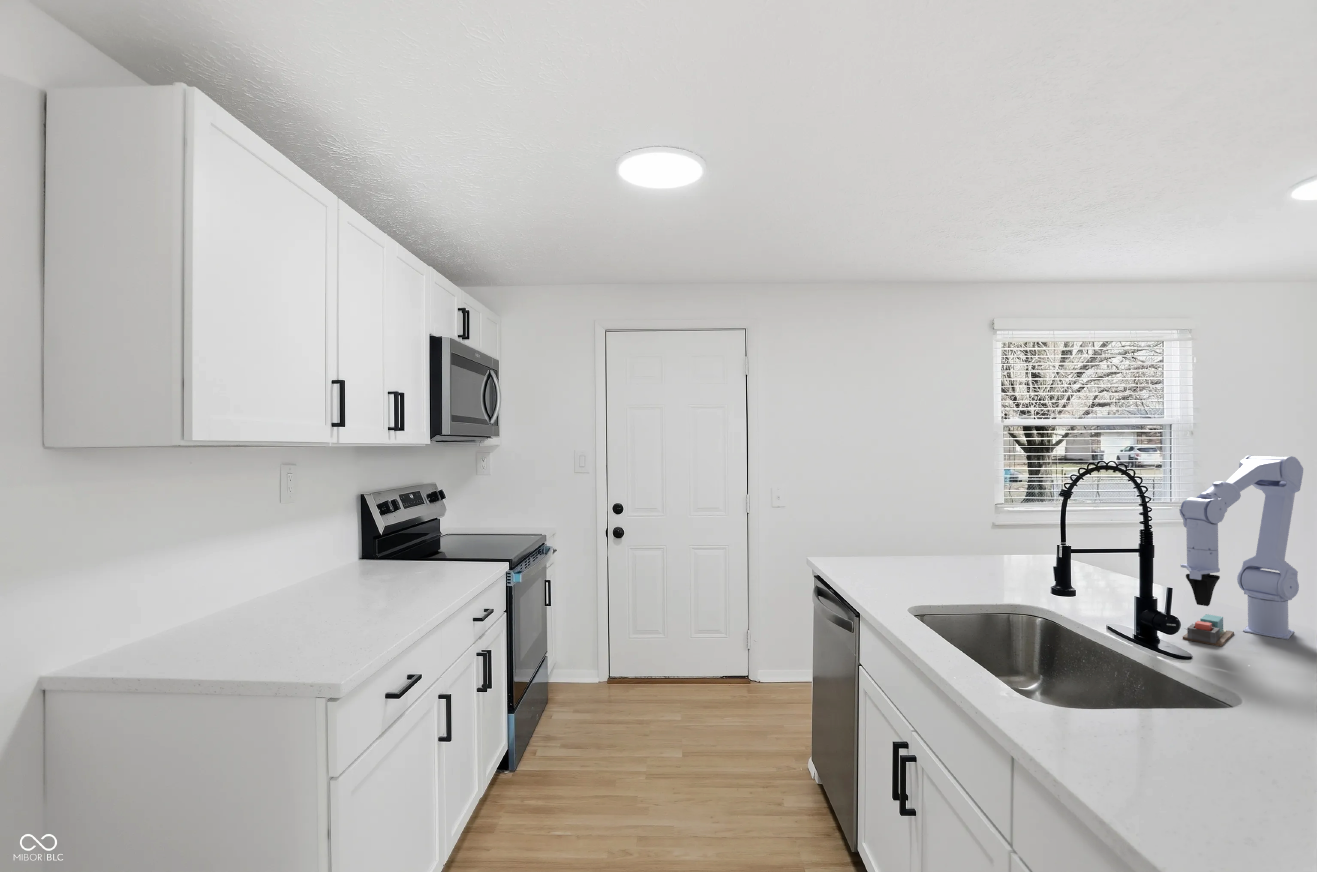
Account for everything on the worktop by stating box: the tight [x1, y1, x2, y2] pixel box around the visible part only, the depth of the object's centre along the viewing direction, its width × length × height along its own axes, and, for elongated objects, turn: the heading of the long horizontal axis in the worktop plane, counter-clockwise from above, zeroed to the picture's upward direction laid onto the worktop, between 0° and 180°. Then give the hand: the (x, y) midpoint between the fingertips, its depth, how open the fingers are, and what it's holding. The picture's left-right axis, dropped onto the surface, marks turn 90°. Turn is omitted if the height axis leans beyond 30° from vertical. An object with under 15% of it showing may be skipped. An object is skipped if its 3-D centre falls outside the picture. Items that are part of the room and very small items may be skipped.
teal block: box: [1199, 613, 1224, 632], centre depth 153 cm, size 8×3×3 cm, turn 128°
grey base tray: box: [1182, 623, 1235, 647], centre depth 151 cm, size 14×7×3 cm, turn 128°
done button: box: [1194, 620, 1212, 631], centre depth 148 cm, size 3×3×2 cm
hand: (1203, 604), depth 148 cm, fingers closed
